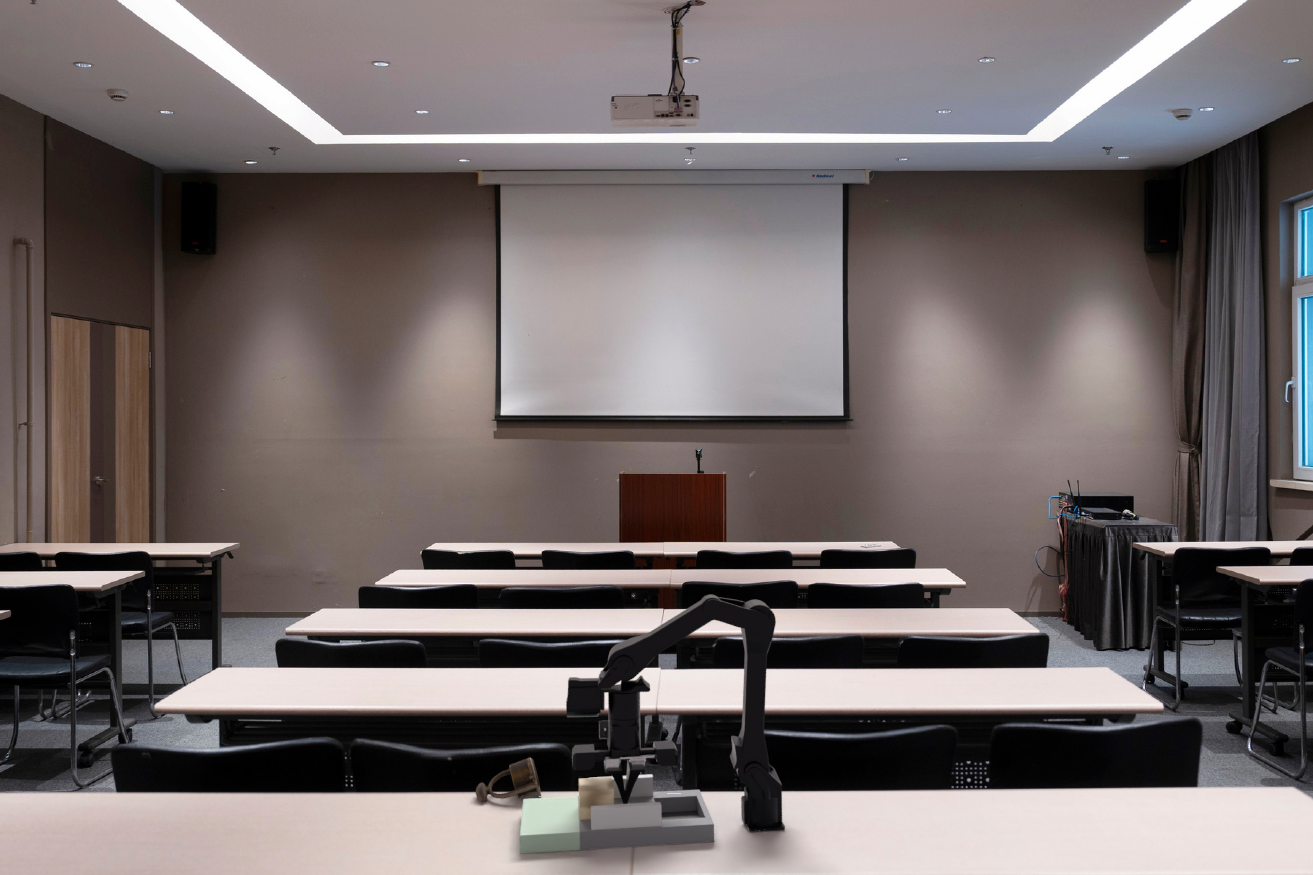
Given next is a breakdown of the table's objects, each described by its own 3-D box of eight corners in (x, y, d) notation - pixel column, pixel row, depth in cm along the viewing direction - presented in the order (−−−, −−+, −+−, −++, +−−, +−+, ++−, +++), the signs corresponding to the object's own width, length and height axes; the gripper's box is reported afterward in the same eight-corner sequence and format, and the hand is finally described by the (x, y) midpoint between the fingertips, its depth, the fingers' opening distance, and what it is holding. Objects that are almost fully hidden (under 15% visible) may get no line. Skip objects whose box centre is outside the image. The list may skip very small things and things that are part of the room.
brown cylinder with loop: (536, 780, 169) (549, 751, 178) (471, 771, 170) (487, 743, 180) (535, 813, 170) (548, 783, 180) (470, 805, 172) (487, 775, 182)
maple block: (612, 804, 162) (611, 776, 162) (614, 817, 156) (613, 788, 156) (579, 806, 162) (578, 778, 162) (579, 819, 156) (579, 790, 156)
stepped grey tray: (699, 805, 169) (699, 770, 169) (714, 841, 153) (713, 803, 153) (523, 815, 165) (523, 779, 165) (519, 853, 149) (519, 814, 150)
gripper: (670, 701, 169) (671, 784, 169) (571, 705, 167) (572, 789, 167) (678, 718, 158) (679, 807, 157) (572, 722, 156) (573, 812, 155)
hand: (625, 803), depth 160 cm, fingers closed
